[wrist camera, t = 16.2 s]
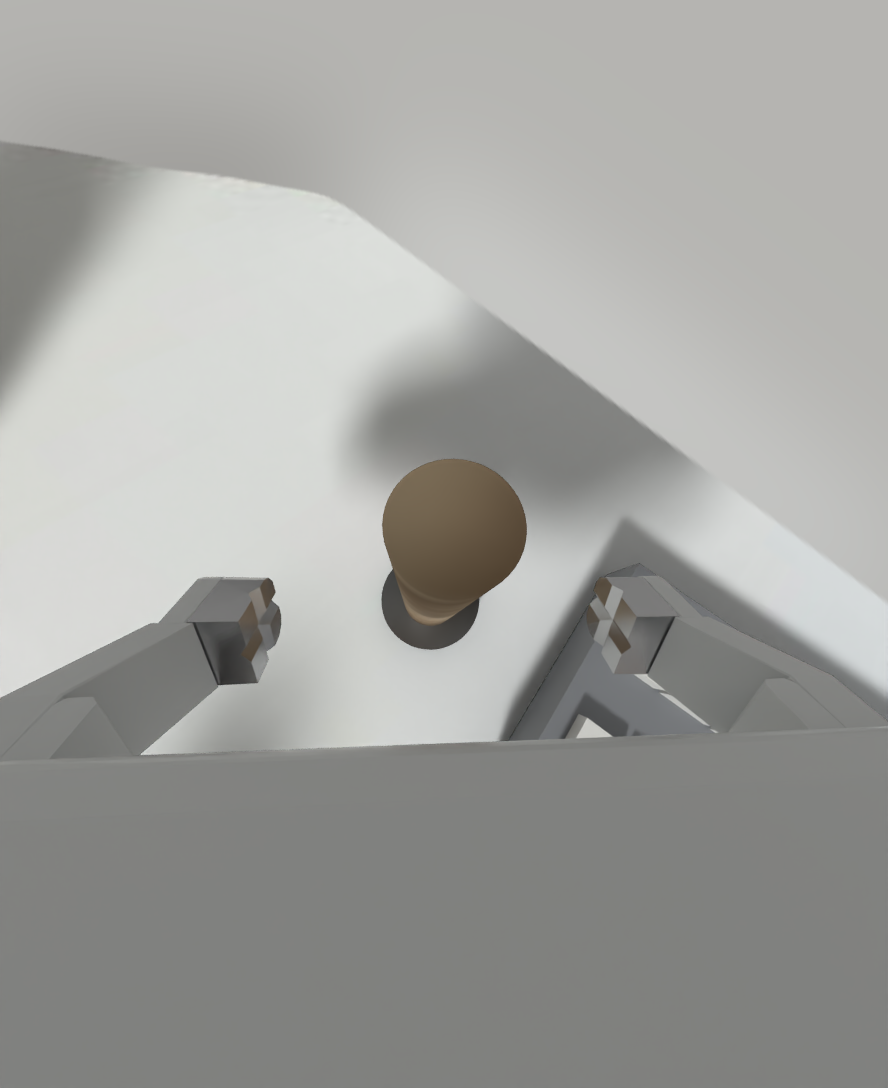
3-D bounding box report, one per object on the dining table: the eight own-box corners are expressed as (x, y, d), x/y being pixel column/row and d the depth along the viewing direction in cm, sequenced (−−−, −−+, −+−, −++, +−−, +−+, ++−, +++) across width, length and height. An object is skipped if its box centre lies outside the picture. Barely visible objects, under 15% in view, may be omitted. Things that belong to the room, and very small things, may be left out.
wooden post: (364, 611, 19) (258, 549, 6) (420, 539, 20) (428, 365, 7) (439, 668, 18) (490, 729, 6) (492, 592, 19) (631, 502, 7)
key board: (487, 776, 17) (506, 813, 13) (607, 574, 20) (649, 559, 16) (835, 1049, 15) (965, 1176, 12) (909, 783, 18) (1032, 819, 15)
